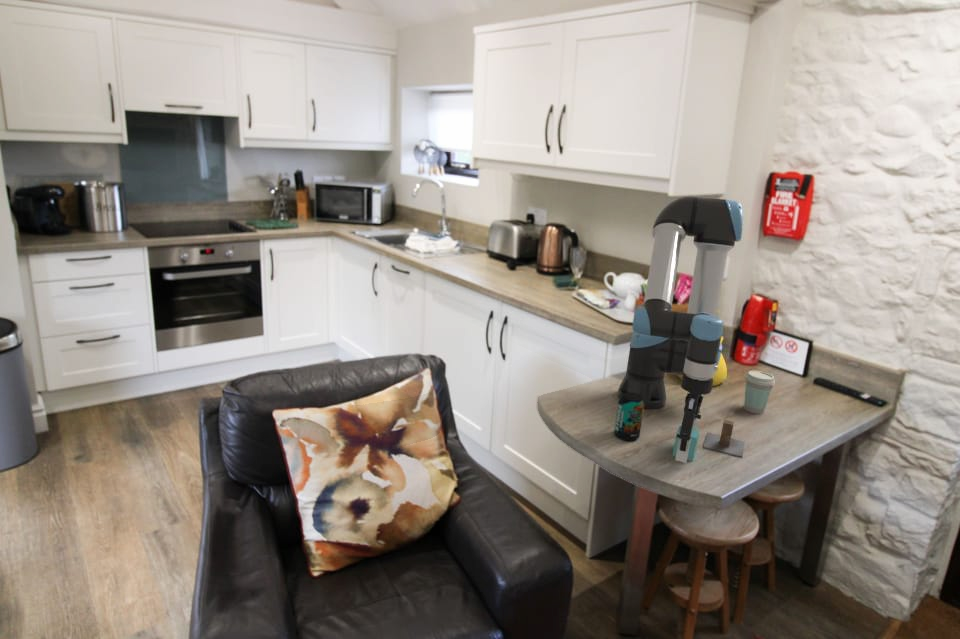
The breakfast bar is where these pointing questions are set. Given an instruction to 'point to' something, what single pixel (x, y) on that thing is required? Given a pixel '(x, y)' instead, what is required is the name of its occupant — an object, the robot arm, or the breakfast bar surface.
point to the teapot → (718, 371)
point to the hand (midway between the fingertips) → (684, 450)
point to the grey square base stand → (725, 441)
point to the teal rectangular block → (693, 443)
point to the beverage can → (629, 416)
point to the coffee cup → (757, 391)
